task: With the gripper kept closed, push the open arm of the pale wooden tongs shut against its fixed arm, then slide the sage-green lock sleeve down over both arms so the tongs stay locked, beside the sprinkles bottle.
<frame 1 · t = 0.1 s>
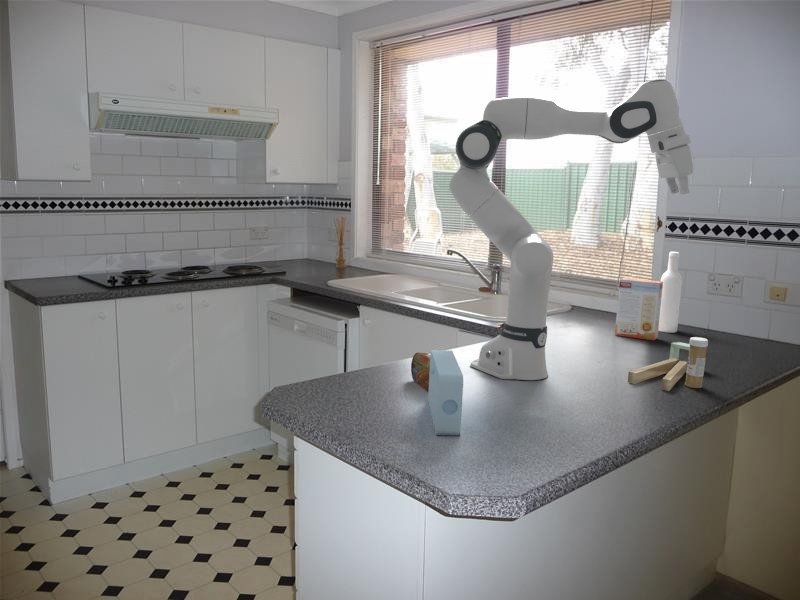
hand: (680, 193, 181), 52 cm above the table, tool tilted 20°, fingers open, 8 cm apart
sprinkles bottle: (693, 386, 189), on the table
tong arm: (674, 375, 194), point 1 cm above the table, hinge at 15.0°
cracker box: (635, 337, 249), on the table
lock sleeve: (686, 356, 208), point 3 cm above the table, slide at 0.0 cm
bottle: (665, 331, 263), on the table
tin: (426, 387, 179), on the table
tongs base: (678, 369, 207), on the table
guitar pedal: (442, 419, 156), on the table
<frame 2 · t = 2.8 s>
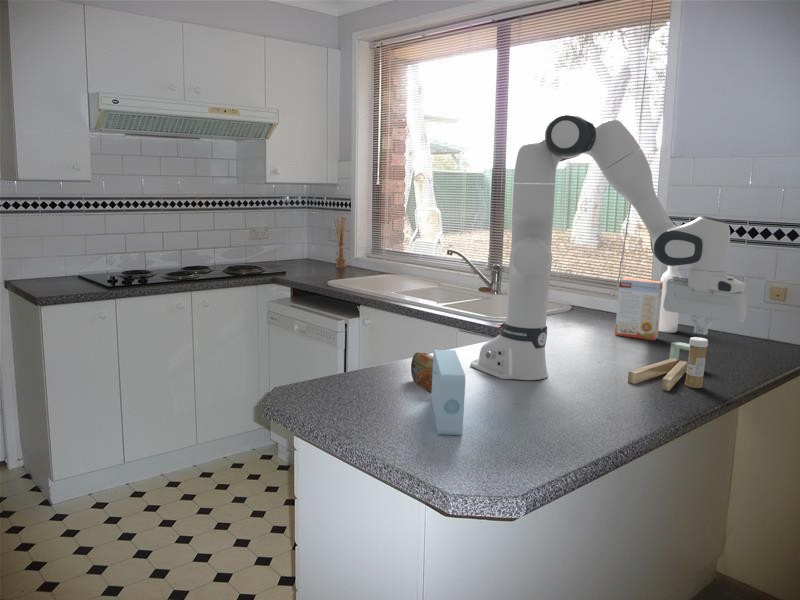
hand: (700, 333, 178), 16 cm above the table, tool pointing down, fingers closed
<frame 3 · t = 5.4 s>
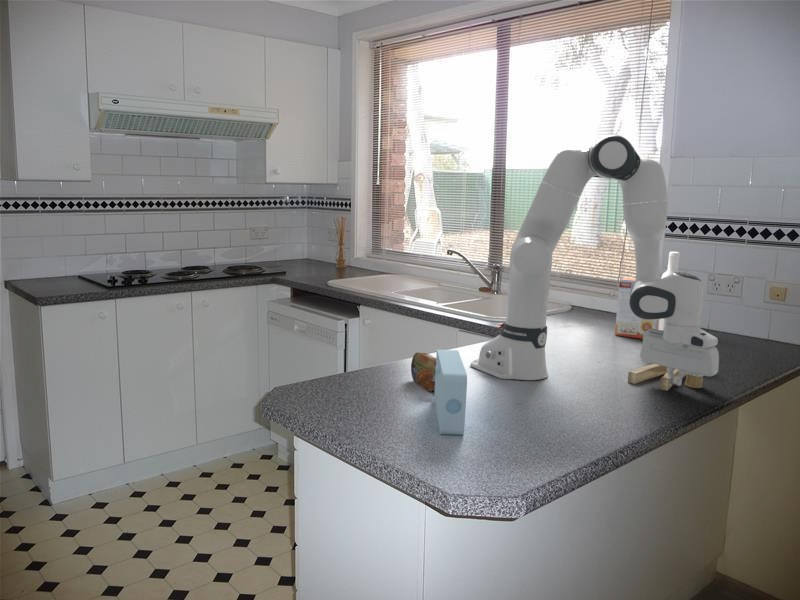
hand: (675, 384, 184), 2 cm above the table, tool pointing down, fingers closed
tong arm: (673, 374, 194), point 1 cm above the table, hinge at 14.0°, touching gripper
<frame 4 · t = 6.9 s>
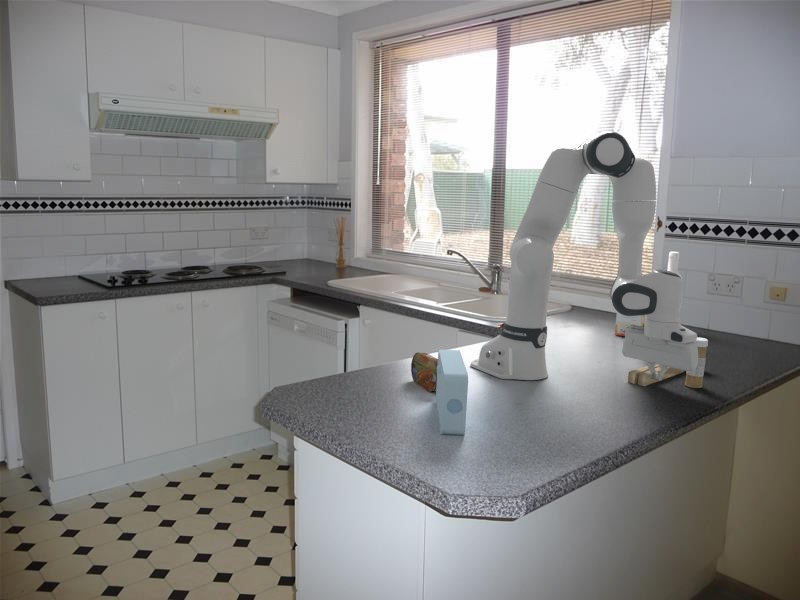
hand: (656, 379, 188), 2 cm above the table, tool pointing down, fingers closed
tong arm: (662, 372, 196), point 1 cm above the table, hinge at 0.8°, touching gripper
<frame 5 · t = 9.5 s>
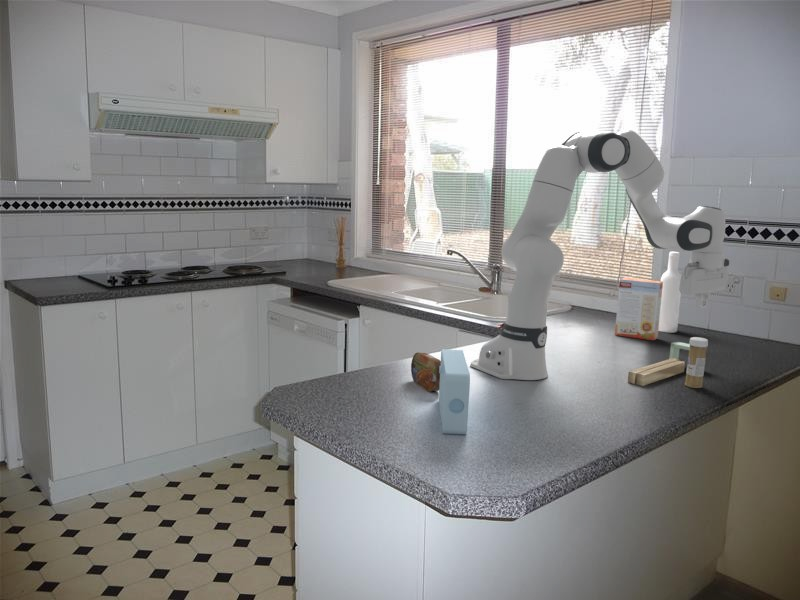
hand: (701, 306, 208), 18 cm above the table, tool pointing down, fingers closed
tong arm: (661, 372, 196), point 1 cm above the table, hinge at -0.1°
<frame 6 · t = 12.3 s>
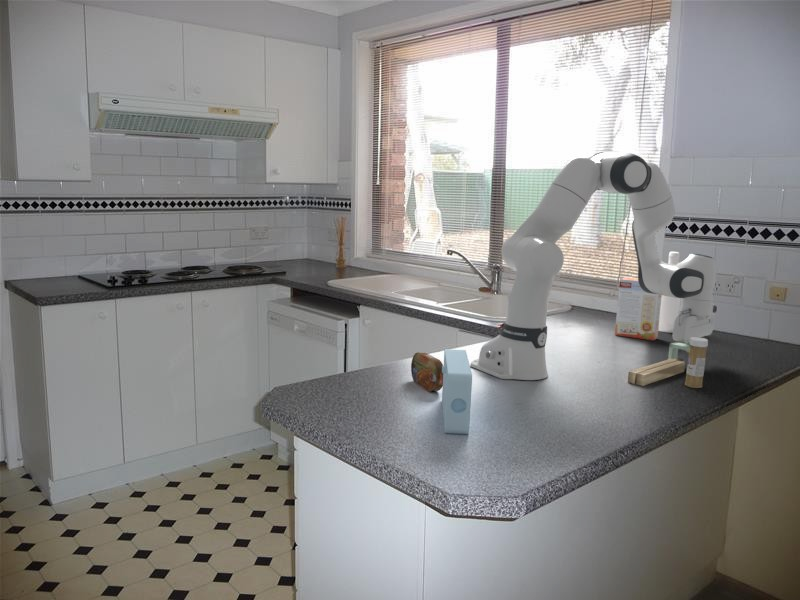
hand: (690, 352, 210), 4 cm above the table, tool pointing down, fingers closed
lock sleeve: (685, 356, 207), point 3 cm above the table, slide at 0.9 cm, touching gripper
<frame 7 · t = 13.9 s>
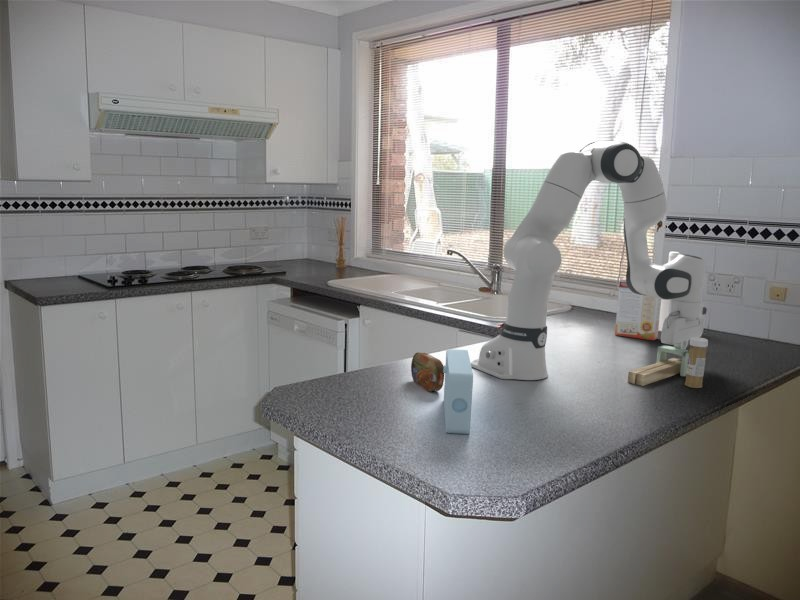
hand: (679, 355, 205), 5 cm above the table, tool pointing down, fingers closed
lock sleeve: (673, 360, 202), point 3 cm above the table, slide at 8.3 cm, touching gripper
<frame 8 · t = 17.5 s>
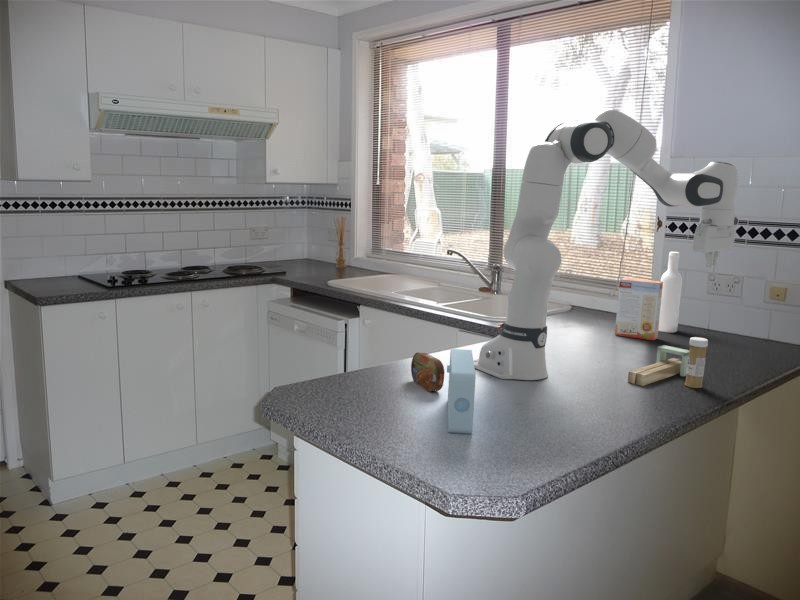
hand: (710, 266, 203), 31 cm above the table, tool pointing down, fingers closed
lock sleeve: (673, 360, 202), point 3 cm above the table, slide at 8.3 cm
at the end: tong arm at +0° (first picture: +15°); lock sleeve slide at 8.3 cm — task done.
